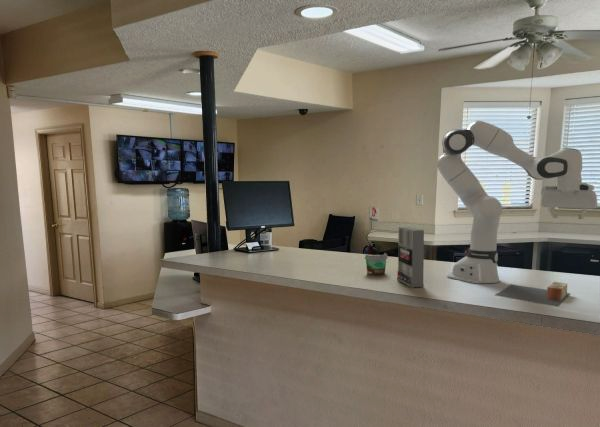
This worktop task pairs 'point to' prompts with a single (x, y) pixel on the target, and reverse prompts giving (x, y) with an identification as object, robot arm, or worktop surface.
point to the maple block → (557, 291)
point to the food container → (376, 264)
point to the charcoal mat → (529, 295)
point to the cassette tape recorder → (410, 256)
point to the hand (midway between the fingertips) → (567, 218)
